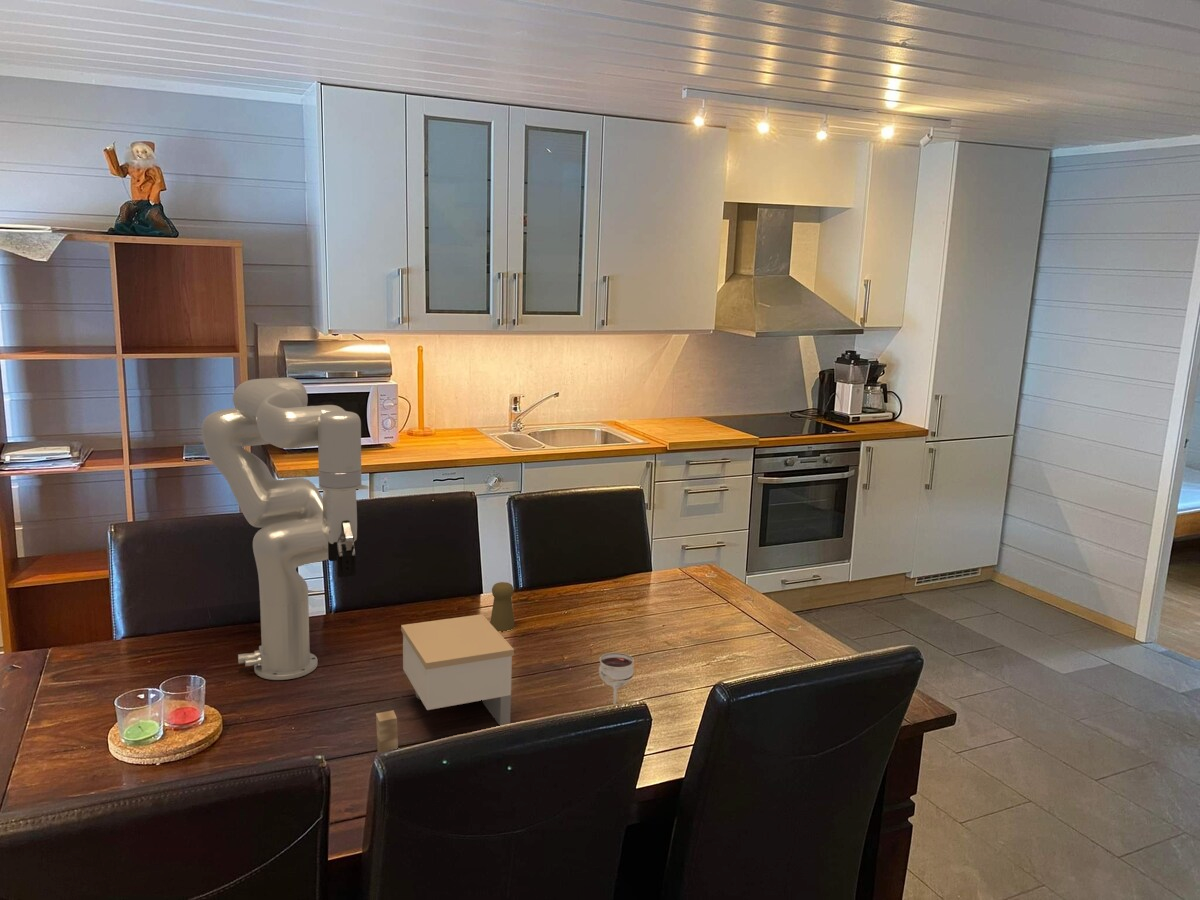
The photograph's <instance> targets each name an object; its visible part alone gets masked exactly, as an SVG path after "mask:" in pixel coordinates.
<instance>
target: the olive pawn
mask: <svg viewBox="0 0 1200 900" xmlns="http://www.w3.org/2000/svg"><path fill="white" fill-rule="evenodd" d="M514 592H515V590H514V586H513V584H511V583H510V582H507V581H505V582H504V581H499V582H497V583H495V584H493V586H492V588H491V593H492V596H493V602H492V609H491V616H490V621H489V622H490V623H491V625H492V626H493V627H494V628H495V629H496V630H497V631H507V630H511V629H513V628H514V627H516V626H515V619H514V611H513V610H514V609H513V600H512V597H513V596H514ZM514 629H515V628H514ZM514 629H513V630H514ZM511 631H512V630H511Z"/></svg>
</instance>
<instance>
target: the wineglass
mask: <svg viewBox="0 0 1200 900" xmlns="http://www.w3.org/2000/svg"><path fill="white" fill-rule="evenodd" d="M599 663H600V664H599V667H598V673H599V678H600V679H601V680H602V681H603V682H604V683H605V684H606V685H607V686H610V687H611V688H612V689H613V692H612V693H613V696H612V697H613V699H612V702H613V704H616V705H617V699H618V689H619V688H620V687H624V686H625V685H627V684H628V683H629V682H630V681H632V678H633V676H634V673H635V669H634V666H633V664H634V663H635V659H634V658H633V657H632V656H630V655H629V654H627V653H622V652H608V653H604V654H602V655H600V657H599Z"/></svg>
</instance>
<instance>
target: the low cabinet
mask: <svg viewBox="0 0 1200 900" xmlns="http://www.w3.org/2000/svg"><path fill="white" fill-rule="evenodd" d="M400 625H401V626H400V631H401V633H402V670H403V672H404V674H405V676H407V679H408V680H409V682H410V683H411V685H412V687H413V689H414V691H415V696H416V698H418V699H419V700H421V702H422V704H423V706H424V708H425V710H427V711H430V710H431V711H432V710H435V709H440V708H447V707H451V706H452V707H453V706H457V705H463V704H469V703H474V702H479V701H481V700H482V701H481V702H482V703H483V706H485V707H486V709H487V710H488V711H489V714H491V716H492V717H493V719H494V718H495V719H494V721H496V723H497V724H498V725H499V726H500V725H502V724H506V723H510V724H511V711H512V710H511V708H512V707H511V706H512V672H513V671H512V667H513V666H512V665H513V664H512V663H513V661H512V660H513V659H512V657H513V656H515V648H513V647H512V646H511V644H510V643H509V642H508V641H507V640H506V639H505V638H504V637H503V635H501V632H498V631H497V630H496V629H495V628H494V627H493V626H492V625H491V623H490V621H489V620H488V619H487V618H486V617H485V616H484V614H483V613H481V614H480V613H479V614H473V615H466V616H460V617H452V618H444V619H437V620H431V621H429V620H428V621H421V622H414V623H407V624H400ZM418 699H417V700H418Z"/></svg>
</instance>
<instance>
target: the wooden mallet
mask: <svg viewBox="0 0 1200 900" xmlns="http://www.w3.org/2000/svg"><path fill="white" fill-rule="evenodd" d="M375 719H376V720H375V722H376V723H375V725H376V726H375V727H376V742H377V743H376V746H377V747H376V749H377V755H378V754H379V753H381V752H385V751H389V750H393V749H397V748H398V749H399V738H398V737H399V736H398V735H399V734H398V718H397V715H396V713H395V710H394V709H393V710H388V711H383V712H382V711H381V712H376V713H375Z"/></svg>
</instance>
